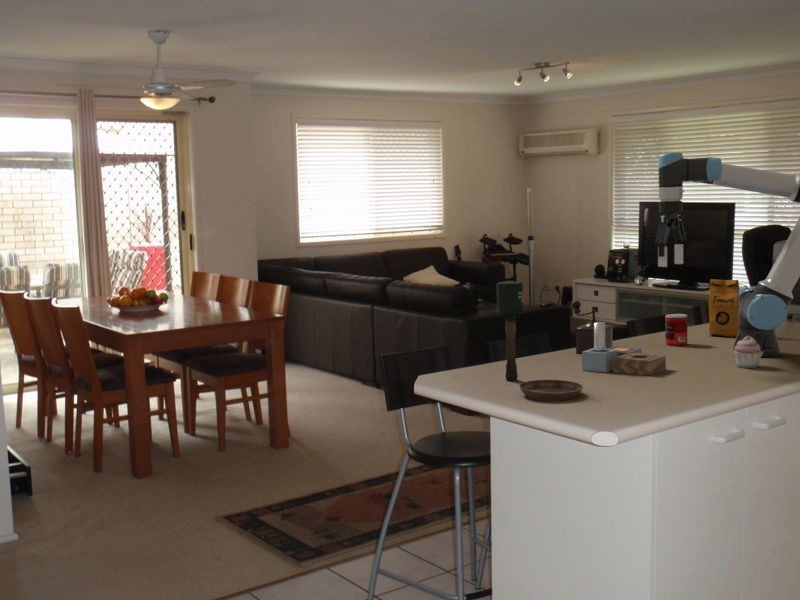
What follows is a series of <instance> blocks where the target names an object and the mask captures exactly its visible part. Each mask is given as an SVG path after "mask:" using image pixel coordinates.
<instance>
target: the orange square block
mask: <svg viewBox="0 0 800 600" xmlns="http://www.w3.org/2000/svg"><path fill="white" fill-rule="evenodd" d="M613 350H617V351H625V352H626V351H629V350H631V349H627V348H615V349H613Z"/></svg>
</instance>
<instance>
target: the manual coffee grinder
mask: <svg viewBox="0 0 800 600" xmlns="http://www.w3.org/2000/svg"><path fill="white" fill-rule="evenodd" d="M581 306H582V304H581V301H579V300H574V301H572V302H570V308H571V309H572V310H573V314H575V316H576V317H582V316H587V315H591V314H592V315H591V316H592V320H590V321H587V322H586V323H585V324H583V325H582V324H581V325H580V326H578V327H576V328H575V354H577V355H582V351H586V350H589V349H592V348H594V323H595V322H600V321H599V319H596V312H597V310H596V306H592V307H591V311H588V312H582V310H581V309H580V308H581ZM610 347H613V325H610V324H606V323H605V349H607V348H610Z"/></svg>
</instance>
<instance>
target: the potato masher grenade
mask: <svg viewBox="0 0 800 600" xmlns="http://www.w3.org/2000/svg"><path fill="white" fill-rule="evenodd" d="M523 285H524V284H523V282H521V281H499V282H497V283H496V309H495V312H496V313H498V314H503V316H504V324H505V325H504V327H505V335H506V338H505V339H506V364H505V379H506V381H509V382H514V381H515V382H516V381H517V379H518V365H517V361H516V360H517V359H516V333H517V324H516V322H517V315H518V314H522V313H525V308H524V286H523Z"/></svg>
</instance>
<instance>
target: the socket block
mask: <svg viewBox="0 0 800 600" xmlns="http://www.w3.org/2000/svg"><path fill="white" fill-rule="evenodd" d="M666 360H667V355H666V354H654V353H643V352H642V353H627V354H624V355H621V356H618V357H615V358H614V370H613V373H618V374H620V373H622V374H629V375H638V376H640V375H641V376H653V375H655V374H658V373H660V372H663V371H665V370H667V368H666V367H667V365H666V364H667V361H666Z"/></svg>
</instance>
